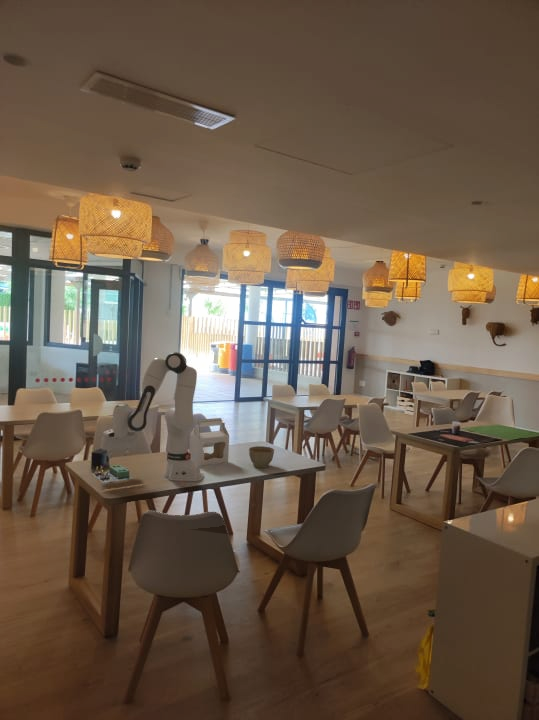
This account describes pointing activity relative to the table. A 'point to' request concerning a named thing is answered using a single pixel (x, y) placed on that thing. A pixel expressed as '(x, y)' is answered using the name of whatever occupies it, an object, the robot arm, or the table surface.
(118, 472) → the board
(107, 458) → the small box
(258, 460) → the planter bowl
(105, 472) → the chassis
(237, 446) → the table surface
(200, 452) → the gable box
